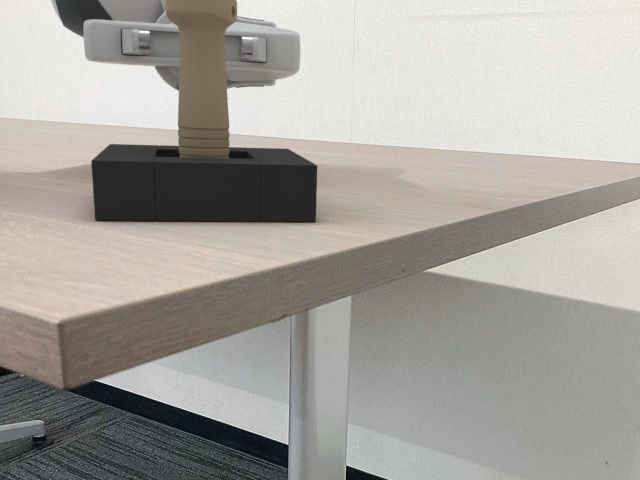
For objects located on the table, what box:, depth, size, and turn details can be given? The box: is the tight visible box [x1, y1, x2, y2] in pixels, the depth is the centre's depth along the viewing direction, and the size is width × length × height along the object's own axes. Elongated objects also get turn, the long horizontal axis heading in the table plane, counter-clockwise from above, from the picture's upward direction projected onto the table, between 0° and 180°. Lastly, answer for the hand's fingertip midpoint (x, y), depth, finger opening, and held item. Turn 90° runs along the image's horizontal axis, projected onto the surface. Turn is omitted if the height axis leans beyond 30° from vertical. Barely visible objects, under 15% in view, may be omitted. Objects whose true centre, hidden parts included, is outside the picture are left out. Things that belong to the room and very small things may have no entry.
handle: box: [165, 0, 238, 158], centre depth 58 cm, size 5×6×15 cm
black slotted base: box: [90, 143, 318, 223], centre depth 60 cm, size 15×15×4 cm
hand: (196, 43), depth 68 cm, fingers open, 8 cm apart
